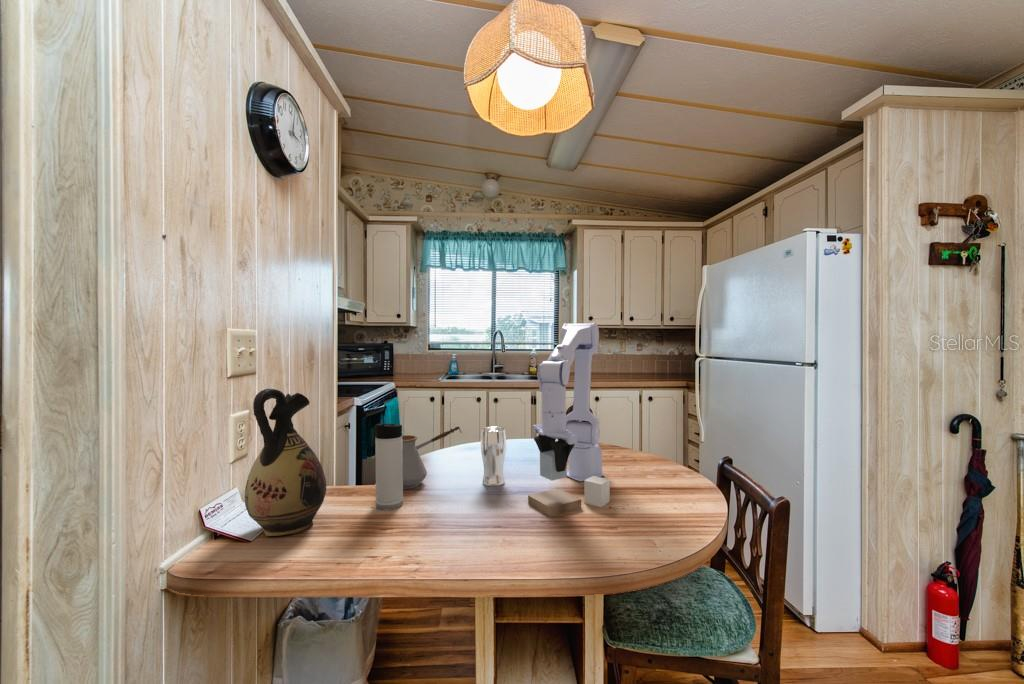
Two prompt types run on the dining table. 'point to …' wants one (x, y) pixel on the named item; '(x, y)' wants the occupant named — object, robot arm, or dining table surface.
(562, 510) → the brown block
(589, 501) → the cream block
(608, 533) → the dining table surface
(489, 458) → the beer glass
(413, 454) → the coffee pot
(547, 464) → the slate block
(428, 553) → the dining table surface
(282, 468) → the ceramic jug
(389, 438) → the travel mug
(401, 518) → the dining table surface
